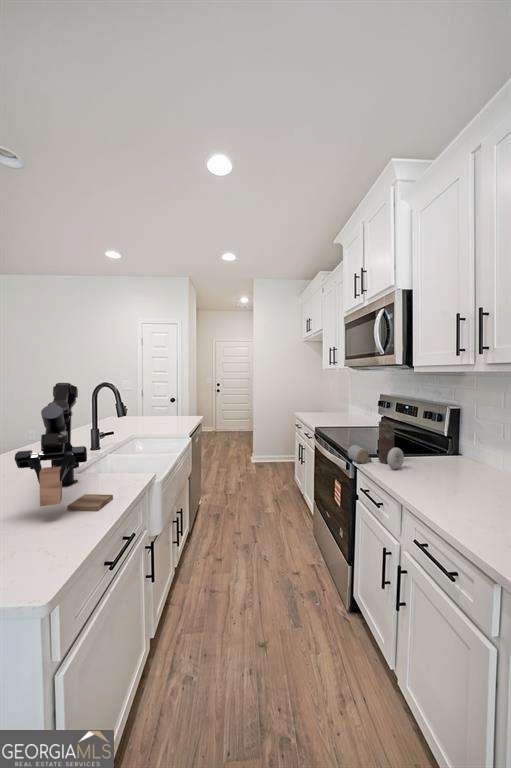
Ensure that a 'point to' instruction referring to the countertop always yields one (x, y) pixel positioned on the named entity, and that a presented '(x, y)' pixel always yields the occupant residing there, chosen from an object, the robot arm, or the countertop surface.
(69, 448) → the robot arm
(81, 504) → the base board
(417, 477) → the countertop surface
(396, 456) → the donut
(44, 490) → the pillar
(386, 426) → the candle
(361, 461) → the grey cylinder
